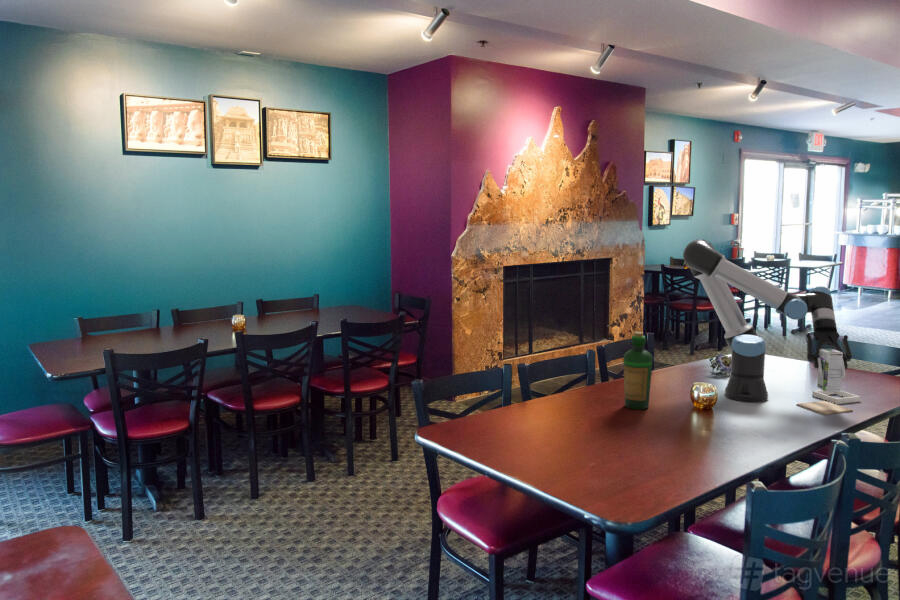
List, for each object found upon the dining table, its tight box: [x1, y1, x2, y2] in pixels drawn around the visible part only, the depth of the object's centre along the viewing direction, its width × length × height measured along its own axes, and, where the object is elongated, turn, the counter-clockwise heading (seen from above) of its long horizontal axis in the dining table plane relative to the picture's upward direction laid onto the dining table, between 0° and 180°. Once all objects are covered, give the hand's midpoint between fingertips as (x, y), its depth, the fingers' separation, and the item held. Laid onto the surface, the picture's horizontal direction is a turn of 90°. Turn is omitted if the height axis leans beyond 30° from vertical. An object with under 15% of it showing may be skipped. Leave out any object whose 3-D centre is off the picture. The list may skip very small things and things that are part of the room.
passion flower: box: [709, 351, 731, 377], centre depth 283 cm, size 11×11×12 cm
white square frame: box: [811, 389, 862, 405], centre depth 243 cm, size 11×11×2 cm
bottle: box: [622, 331, 654, 411], centre depth 235 cm, size 11×11×28 cm
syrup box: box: [816, 348, 844, 391], centre depth 230 cm, size 6×6×14 cm
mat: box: [796, 400, 854, 416], centre depth 232 cm, size 13×12×1 cm
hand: (832, 375), depth 227 cm, fingers closed on syrup box, 6 cm apart
